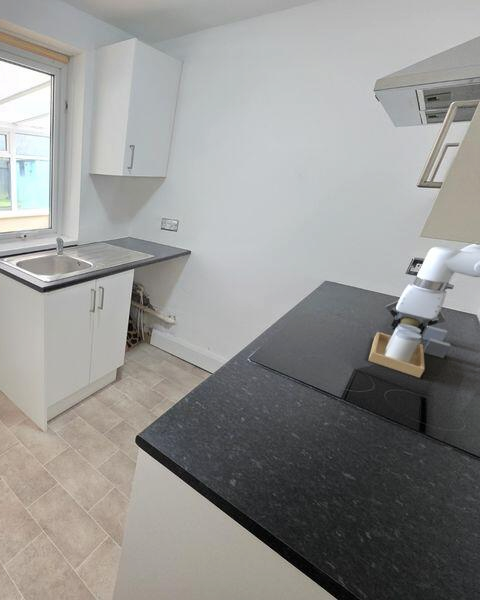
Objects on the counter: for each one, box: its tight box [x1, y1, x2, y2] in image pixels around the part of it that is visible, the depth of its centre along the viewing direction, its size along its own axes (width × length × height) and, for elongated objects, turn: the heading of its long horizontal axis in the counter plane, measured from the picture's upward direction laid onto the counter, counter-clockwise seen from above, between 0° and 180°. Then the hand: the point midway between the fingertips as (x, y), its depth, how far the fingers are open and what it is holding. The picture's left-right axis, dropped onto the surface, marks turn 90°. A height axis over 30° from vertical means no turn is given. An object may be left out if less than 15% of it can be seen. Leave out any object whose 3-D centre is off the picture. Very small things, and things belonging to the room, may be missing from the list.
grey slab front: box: [423, 338, 451, 359], centre depth 112 cm, size 5×3×5 cm, turn 45°
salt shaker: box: [384, 330, 423, 363], centre depth 103 cm, size 6×6×11 cm
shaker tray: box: [367, 331, 426, 378], centre depth 109 cm, size 13×23×3 cm, turn 135°
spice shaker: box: [384, 324, 421, 353], centre depth 107 cm, size 6×6×11 cm
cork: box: [387, 316, 421, 343], centre depth 111 cm, size 6×6×11 cm
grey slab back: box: [422, 325, 448, 342], centre depth 122 cm, size 5×3×5 cm, turn 45°
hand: (405, 331), depth 111 cm, fingers closed on cork, 5 cm apart
